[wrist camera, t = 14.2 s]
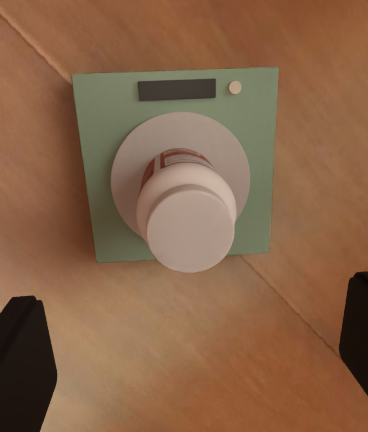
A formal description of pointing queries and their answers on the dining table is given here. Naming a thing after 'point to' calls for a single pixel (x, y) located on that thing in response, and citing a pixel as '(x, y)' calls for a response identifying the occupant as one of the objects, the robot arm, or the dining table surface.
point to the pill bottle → (185, 211)
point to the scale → (175, 145)
